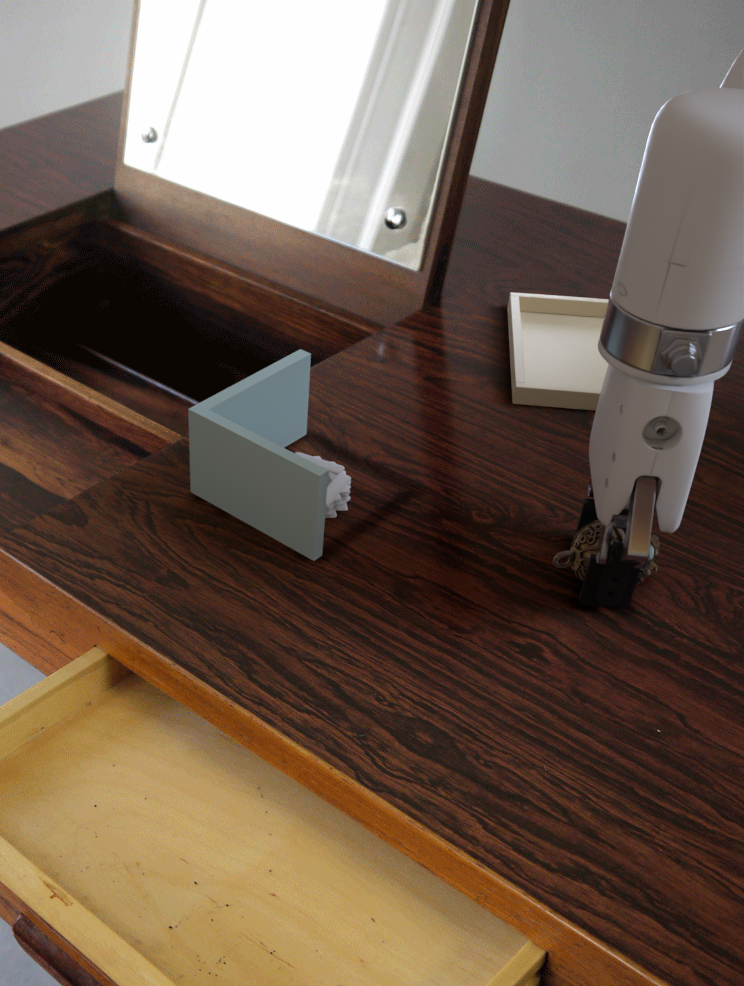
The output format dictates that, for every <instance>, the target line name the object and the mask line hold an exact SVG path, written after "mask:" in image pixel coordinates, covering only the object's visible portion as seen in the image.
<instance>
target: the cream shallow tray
mask: <svg viewBox="0 0 744 986" xmlns="http://www.w3.org/2000/svg"><path fill="white" fill-rule="evenodd" d="M608 300H609V298H596V297H583V296H569V295H554V294H553V295H552V294H541V293H527V292H514V291H513V292H512V291H511V292H510V293H509V298H508V302H507V325H508V343H509V362H510V376H511V377H510V379H511V380H510V381H511V394H512V395H511V399H512V401H511V402H512V404H515V405H526V406H527V405H528V406H537V407H550V408H560V409H562V408H564V409H573V410H587V411H596V408H597V404H598V400H599V396H600V393H601V389H602V385H603V382H604V378H605V375H606V371H607V368H608V364H609V363H607V361H606V360H605V359H604V358H603V357H602V356H601V354H600V353H599V350H598V341H599V337H600V333H601V329H602V325H603V321H604V317H605V313H606V309H607V305H608Z"/></svg>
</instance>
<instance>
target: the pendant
mask: <svg viewBox="0 0 744 986" xmlns="http://www.w3.org/2000/svg"><path fill="white" fill-rule="evenodd" d="M601 528H602V523H601V522H600V520H595V521H593V522H591V523H589V524H588V525H586V526H585V527H583V528H582V529H581V530H580V531H579V532H578V533H577V534H576V536H575V535H574V536H575V537H574V536H573V539H572V542H571V545H570V549H569V550H563V551H558V552H557V553H556V554H555V555H554V556H553V558H552V565H553V566H554V568H555V569H565V568H568V567H570V568H571V570H572V572H573V573H574V575H575V576H576V578H577V579H578V581H582V582H583V581H584V577H585V574H586V570H587V566H588V563H589V559H590V556H591V554H597V549H598V544H599V539H600V533H601ZM625 535H626V529H618V528H614V530H613V535H612V540H611V544H613V543H615V542H622V541H623V540H624V539H625ZM659 539H660V538H659V536H658V535H657V534H654V533H651V538H650V547H649V554H648V558H647V561H645V562H644V563H643V566H642V568H641V571H640V574H639V577H638V580H637V583H636V586H638V585H640V584H642V583H643V582H644V581H645V578H646V576H650V575H651V573H652V572H658V564H657V563H655V561H654V558H655V557H657V556H658V555H659V554H660V549H661V548H660V546H661V545H660V543H659V541H658V540H659ZM565 557H568V559H567V560H566V561H565V562H559V560H560V559H562V558H565Z"/></svg>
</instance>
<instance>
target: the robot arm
mask: <svg viewBox="0 0 744 986" xmlns="http://www.w3.org/2000/svg"><path fill="white" fill-rule="evenodd" d="M624 231H625V232H624V235H623V240H622V244H621V248H620V252H619V257H618V260H617V266H616V269H615V273H614V277H613V280H612V284H611V288H610V292H609V297H608V299H609V300H608V305H607V309H606V313H605V317H604V321H603V325H602V329H601V333H600V337H599V341H598V350H599V353H600V354H601V356H602V357H603V358H604V359H605V360H606V361H607V363H609V364H608V368H607V371H606V375H605V378H604V382H603V385H602V389H601V393H600V396H599V400H598V404H597V408H596V410H595V413H594V416H593V421H592V426H591V430H590V436H589V443H588V446H589V447H588V461H589V469H590V479H589V482H588V486H587V497H588V498H583V502H582V506H581V509H580V513H579V517H578V520H577V525H576V528H575V532H574V536H573V538H574V537H575V536H576V534H577V533H578V532H579V531H580V530H581V529H582V528H583V527H585V526H586V525H588V524H589V523H591V522H593V521H595V520H600V522H601V523H602V528H601V533H600V539H599V544H598V549H597V554H591V556H590V559H589V563H588V566H587V570H586V574H585V577H584V581H583V580H582V584H581V589H580V592H579V596H578V601H579V605H583V606H593V607H603V608H614V609H622V610H628V609H629V608H630V605H631V602H632V598H633V595H634V593H635V589H636V586H637V585H636V583H637V580H638V577H639V574H640V571H641V568H642V566H643V563H644V562H645V561H647V558H648V554H649V547H650V538H651V534H652V530H653V529H652V528H653V520H654V517H655V513H656V518H657V523H658V528H659V532H662V533H664V532H665V533H666V534H673V533H675V532H676V531H677V530H678V529H679V527H680V526H681V522H682V520H683V516H684V512H685V509H686V505H687V501H688V498H689V495H690V491H691V487H692V484H693V482H694V477H695V473H696V470H697V466H698V462H699V459H700V455H701V452H702V447H703V444H704V439H705V435H706V430H707V427H708V422H709V417H710V411H711V407H712V400H713V394H714V386H715V381H717V380H719V379H721V378H722V377H724V376H725V375H726V374H727V373H729V371H730V369H731V366H732V363H733V360H734V356H735V353H736V351H737V348H738V345H739V342H740V338H741V336H742V332H743V329H744V46H743V48H742V49H741V51H740V52H739V53H738V55H737V56H736V57H735V59H734V61H733V63H732V64H731V66H730V67H729V70H728V71H727V72H726V75H725V77H724V78H723V80H722V83H720V85H719V87H705V88H695V89H691V90H687V91H683V92H680V93H678V94H677V95H675V96H673V97H672V98H670V99H669V100H667V101H666V102H665V103H664V104H663V105H662V106H661V107H660V109H659V110H658V111H657V113H656V115H655V117H654V119H653V121H652V123H651V127H650V130H649V134H648V137H647V141H646V145H645V148H644V152H643V157H642V162H641V166H640V169H639V173H638V178H637V182H636V186H635V190H634V195H633V199H632V203H631V208H630V211H629V215H628V219H627V224H626V227H625V230H624ZM614 528H618V529H626V535H625V539H624V540H623V541H622V542H615V543H613V544H611V540H612V535H613V530H614Z"/></svg>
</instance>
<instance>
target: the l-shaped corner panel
mask: <svg viewBox="0 0 744 986" xmlns="http://www.w3.org/2000/svg"><path fill="white" fill-rule="evenodd" d="M311 359H312V353H311V352H309V351H305V350H304V349H301V348H299V349H298V350H296V351H294V352H291V354H289V355H286V356H284V357H283V358H281V359H278V360H277V361H275V362H273V363H272V364H270V365H268V366H266V367H264V368H262V369H260V370H259V371H256V372H255V373H253V374H251V375H249V376H247V377H245V378H243V379H242V380H240V381H238V382H235V383H234V384H232V385H231V386H228V387H226V388H225V389H223V390H221V391H219V392H217V393H216V394H214V395H212V396H209V397H208V398H206V399H203V400H202V401H200V402H199V403H197V404H194V405H193V406H190V407H189V408H188V409H187V411H188V413H187V414H188V441H189V443H188V448H189V450H188V451H189V452H188V453H189V483H190V486H189V488H190V493H191V494H193V495H195V496H197V497H199V498H201V499H202V500H204V501H206V502H208V503H209V504H212V505H213V506H215V507H217V508H218V509H220V510H222V511H224V512H226V513H227V514H229V515H231V516H232V517H234V518H236V519H237V520H240V521H242V522H243V523H245V524H247V525H249V526H251V527H252V528H254V529H256V530H258V531H260V532H261V533H263V534H264V535H267V536H268V537H270V538H271V539H273V540H275V541H277V542H279V543H281V544H282V545H284V546H287V547H288V548H289V549H291V550H294V552H297V553H298V554H300V555H302V556H304V557H306V558H308V559H310V560H311V561H313V562H315V561H317V560H318V559H319V558H321V557H322V556H323V551H324V537H325V536H324V535H325V524H326V519H335V518H337V516H338V514H337V512H345V511H348V510H349V507H348V502H350V501H351V498H352V497H351V496H350V494H351V490H350V489H351V488H352V485H351V484H352V477H351V476H350V475H348V474H347V471H346V470H345V466H344V465H341V464H339V463H336V462H335V461H329V460H326V459H322V457H321V456H320V455H313V456H312V455H309V454H306V453H303V452H300V451H295V452H293V451H290V450H288V449H287V448H286V447H288V446H289V445H290V446H291V444H293V443H294V442H296V441H298V440H299V439H301V438H303V437H305V436H306V435H307V433H308V417H309V415H308V413H309V398H310V397H309V396H310V380H311V379H310V378H311V362H312V361H311Z"/></svg>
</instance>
